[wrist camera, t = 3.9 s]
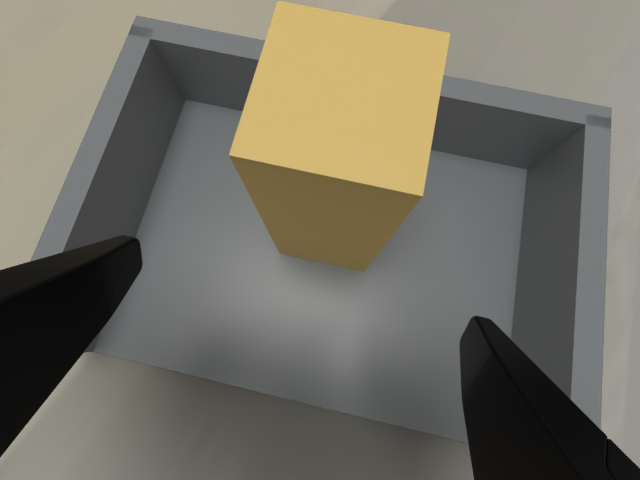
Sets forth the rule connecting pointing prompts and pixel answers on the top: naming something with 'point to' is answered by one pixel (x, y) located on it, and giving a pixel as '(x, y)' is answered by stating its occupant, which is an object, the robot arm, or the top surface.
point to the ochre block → (339, 131)
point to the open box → (329, 280)
